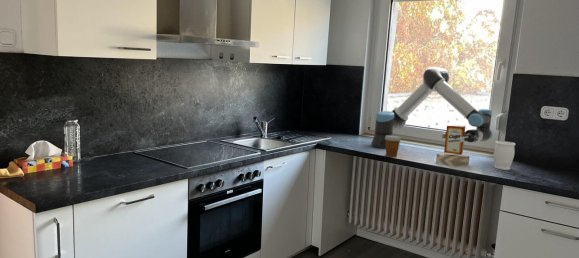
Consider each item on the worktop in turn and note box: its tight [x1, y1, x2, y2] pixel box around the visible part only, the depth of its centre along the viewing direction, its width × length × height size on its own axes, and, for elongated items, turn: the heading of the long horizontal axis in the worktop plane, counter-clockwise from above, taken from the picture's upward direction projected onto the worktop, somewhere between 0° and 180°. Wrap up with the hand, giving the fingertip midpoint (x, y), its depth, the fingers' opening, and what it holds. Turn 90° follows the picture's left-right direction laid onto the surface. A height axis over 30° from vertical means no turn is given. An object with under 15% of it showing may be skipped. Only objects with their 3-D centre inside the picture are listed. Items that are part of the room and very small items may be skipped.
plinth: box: [435, 152, 471, 168], centre depth 260 cm, size 12×14×5 cm
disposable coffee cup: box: [385, 134, 401, 158], centre depth 273 cm, size 10×10×12 cm
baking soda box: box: [443, 124, 467, 155], centre depth 258 cm, size 10×6×16 cm
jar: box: [493, 140, 516, 171], centre depth 253 cm, size 11×10×15 cm
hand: (450, 137), depth 255 cm, fingers closed on baking soda box, 11 cm apart
